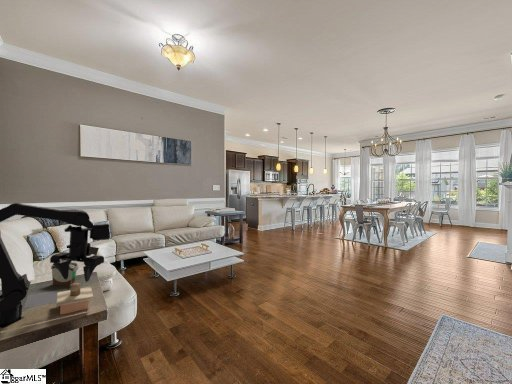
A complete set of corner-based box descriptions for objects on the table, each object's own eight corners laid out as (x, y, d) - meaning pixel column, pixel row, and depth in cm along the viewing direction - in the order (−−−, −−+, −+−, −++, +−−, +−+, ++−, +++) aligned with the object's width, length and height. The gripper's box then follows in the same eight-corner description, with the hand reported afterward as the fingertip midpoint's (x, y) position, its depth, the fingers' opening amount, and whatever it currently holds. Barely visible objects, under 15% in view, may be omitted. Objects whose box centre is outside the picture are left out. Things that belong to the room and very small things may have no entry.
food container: (84, 283, 114) (85, 263, 114) (73, 288, 108) (74, 267, 108) (61, 280, 115) (63, 260, 115) (49, 285, 109) (51, 264, 109)
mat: (67, 301, 96) (67, 299, 96) (23, 309, 88) (23, 308, 88) (67, 289, 106) (67, 288, 106) (27, 296, 98) (27, 295, 98)
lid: (92, 299, 91) (93, 286, 91) (56, 306, 84) (57, 293, 84) (90, 288, 99) (91, 277, 99) (57, 294, 92) (58, 282, 92)
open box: (88, 309, 91) (88, 298, 91) (60, 316, 85) (60, 304, 85) (86, 301, 97) (87, 290, 97) (60, 306, 92) (61, 295, 92)
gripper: (114, 239, 99) (112, 275, 99) (74, 236, 100) (72, 271, 100) (94, 245, 88) (91, 285, 88) (50, 241, 89) (47, 281, 89)
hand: (76, 280), depth 91 cm, fingers open, 9 cm apart
